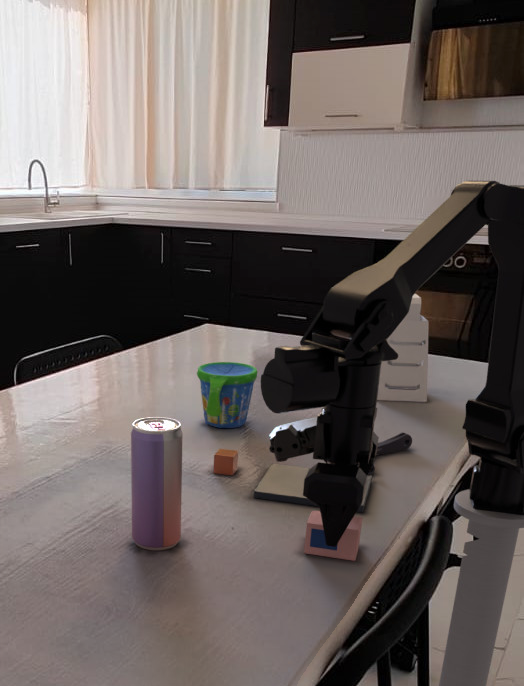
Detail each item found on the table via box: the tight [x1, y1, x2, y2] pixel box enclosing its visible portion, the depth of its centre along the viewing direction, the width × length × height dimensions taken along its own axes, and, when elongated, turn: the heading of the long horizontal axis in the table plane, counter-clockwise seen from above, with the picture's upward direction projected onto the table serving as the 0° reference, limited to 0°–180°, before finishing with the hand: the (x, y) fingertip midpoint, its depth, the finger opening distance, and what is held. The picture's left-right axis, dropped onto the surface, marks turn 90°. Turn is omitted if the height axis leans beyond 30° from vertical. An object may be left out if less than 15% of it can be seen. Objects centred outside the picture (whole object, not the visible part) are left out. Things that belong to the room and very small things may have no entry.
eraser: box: [303, 510, 363, 562], centre depth 92 cm, size 6×4×4 cm
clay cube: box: [213, 448, 239, 476], centre depth 117 cm, size 3×3×3 cm
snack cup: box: [196, 361, 258, 429], centre depth 138 cm, size 16×10×10 cm
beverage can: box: [130, 416, 184, 552], centre depth 91 cm, size 6×6×15 cm
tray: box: [253, 463, 373, 513], centre depth 110 cm, size 15×12×1 cm
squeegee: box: [368, 432, 413, 475], centre depth 125 cm, size 14×15×3 cm
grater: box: [377, 293, 430, 403], centre depth 156 cm, size 10×10×20 cm
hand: (336, 529), depth 91 cm, fingers open, 9 cm apart
